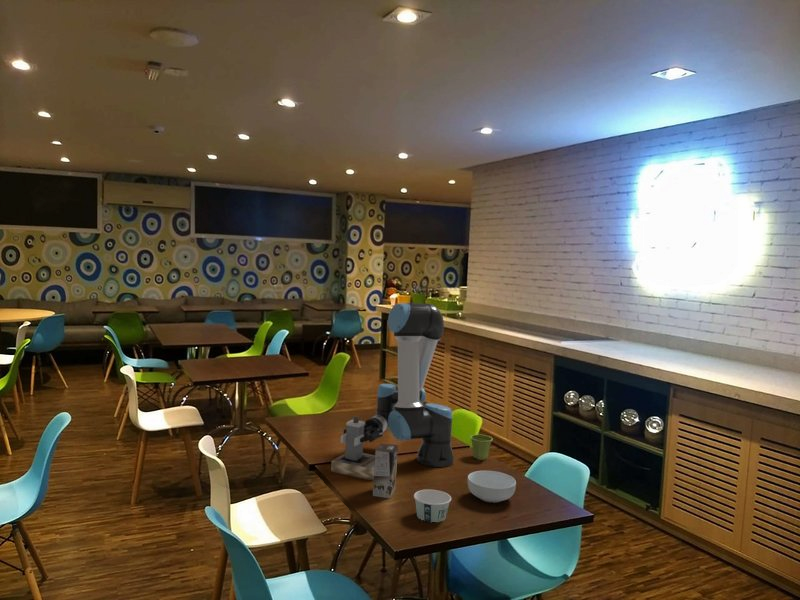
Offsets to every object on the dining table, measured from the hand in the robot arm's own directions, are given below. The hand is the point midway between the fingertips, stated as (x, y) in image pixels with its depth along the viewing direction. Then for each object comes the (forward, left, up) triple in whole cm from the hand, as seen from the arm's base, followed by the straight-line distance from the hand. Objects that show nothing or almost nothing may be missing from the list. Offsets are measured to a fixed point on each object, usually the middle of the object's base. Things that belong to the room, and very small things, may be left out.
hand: (348, 440), depth 225 cm
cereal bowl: (-55, -4, -12) cm, 56 cm away
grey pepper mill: (0, -5, -8) cm, 10 cm away
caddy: (-4, -5, -12) cm, 14 cm away
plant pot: (-40, -46, -12) cm, 62 cm away
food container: (-42, +21, -12) cm, 48 cm away
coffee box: (-21, +11, -12) cm, 26 cm away
